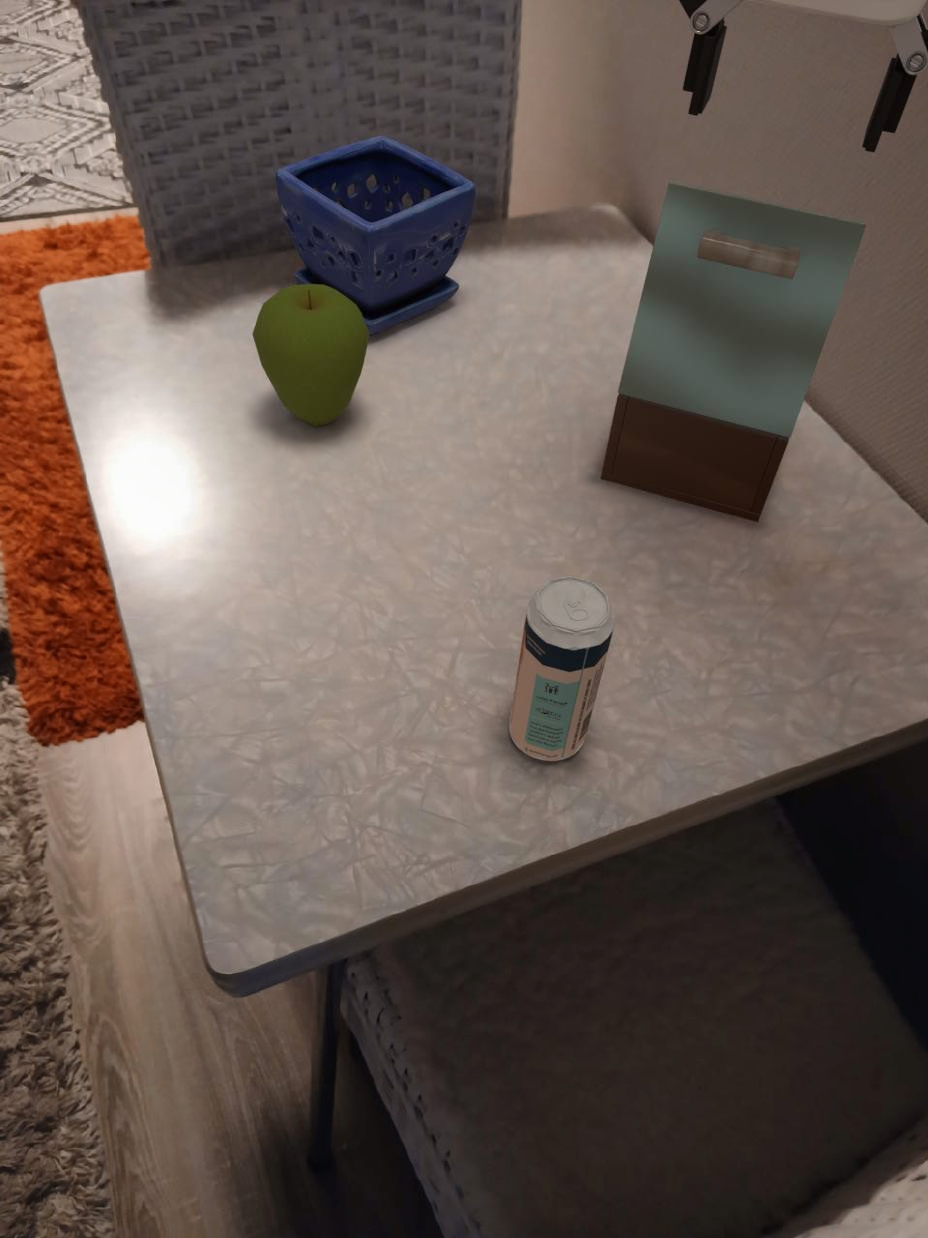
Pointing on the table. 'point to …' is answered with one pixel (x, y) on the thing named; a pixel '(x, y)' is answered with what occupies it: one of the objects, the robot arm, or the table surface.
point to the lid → (737, 306)
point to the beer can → (560, 667)
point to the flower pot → (377, 227)
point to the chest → (692, 457)
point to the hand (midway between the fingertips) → (783, 124)
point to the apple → (312, 349)
